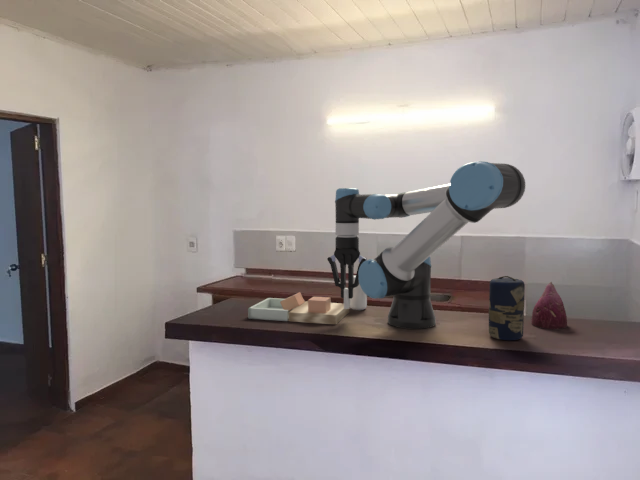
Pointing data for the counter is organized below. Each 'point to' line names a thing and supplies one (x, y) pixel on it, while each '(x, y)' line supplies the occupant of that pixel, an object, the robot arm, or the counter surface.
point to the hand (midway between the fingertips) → (346, 307)
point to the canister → (506, 308)
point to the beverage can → (358, 298)
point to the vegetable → (549, 310)
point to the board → (318, 314)
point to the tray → (269, 310)
